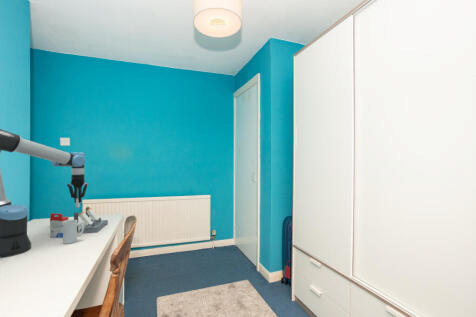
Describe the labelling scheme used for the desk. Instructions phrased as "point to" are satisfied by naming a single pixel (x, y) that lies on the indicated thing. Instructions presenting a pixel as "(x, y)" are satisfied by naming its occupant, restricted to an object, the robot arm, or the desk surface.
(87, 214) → the cable post right
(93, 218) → the paddle
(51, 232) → the ink box
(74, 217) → the cable post left
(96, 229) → the breaker panel
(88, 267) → the desk surface
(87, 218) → the paddle
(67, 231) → the mug
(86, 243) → the desk surface
